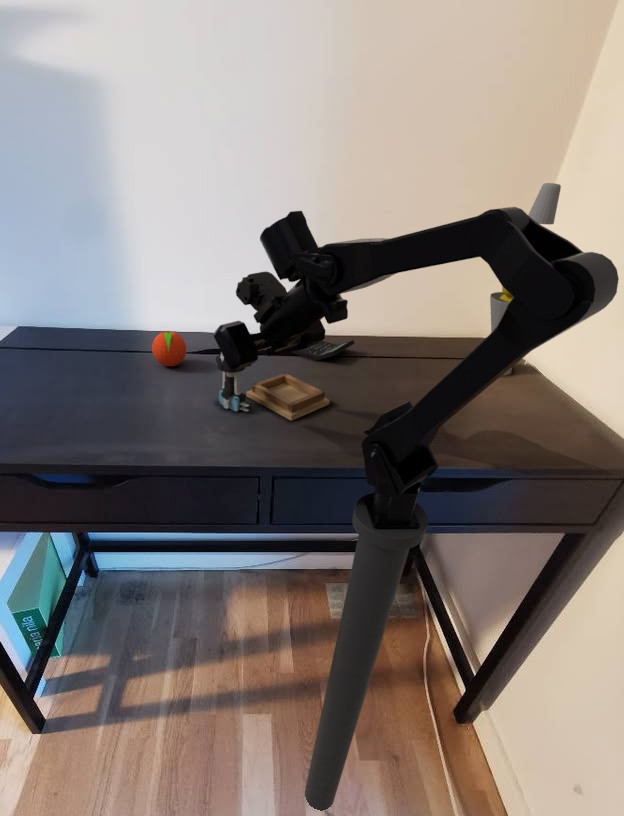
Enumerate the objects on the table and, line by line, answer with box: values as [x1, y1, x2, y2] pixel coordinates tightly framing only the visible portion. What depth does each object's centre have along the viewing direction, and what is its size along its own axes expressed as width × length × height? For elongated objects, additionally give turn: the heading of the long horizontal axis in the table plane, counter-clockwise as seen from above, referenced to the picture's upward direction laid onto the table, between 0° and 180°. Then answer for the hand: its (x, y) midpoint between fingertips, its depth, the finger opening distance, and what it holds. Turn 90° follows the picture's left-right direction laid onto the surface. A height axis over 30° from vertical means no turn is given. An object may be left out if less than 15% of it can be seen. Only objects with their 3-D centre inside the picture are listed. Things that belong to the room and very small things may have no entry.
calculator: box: [289, 339, 355, 361], centre depth 110 cm, size 9×12×3 cm
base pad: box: [245, 372, 331, 421], centre depth 90 cm, size 12×10×2 cm
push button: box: [215, 351, 250, 412], centre depth 85 cm, size 7×5×10 cm
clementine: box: [151, 330, 187, 367], centre depth 100 cm, size 8×7×7 cm
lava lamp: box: [489, 182, 562, 377], centre depth 98 cm, size 9×9×35 cm
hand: (246, 359), depth 80 cm, fingers open, 9 cm apart
